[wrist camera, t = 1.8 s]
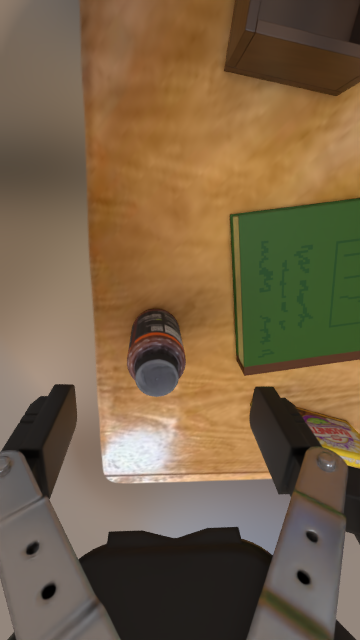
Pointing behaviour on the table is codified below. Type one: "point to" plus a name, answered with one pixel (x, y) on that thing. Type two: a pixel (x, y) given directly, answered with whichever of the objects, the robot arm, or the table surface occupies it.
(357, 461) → the candy box
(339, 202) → the hardcover book
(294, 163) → the table surface
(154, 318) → the supplement bottle
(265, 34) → the holder
